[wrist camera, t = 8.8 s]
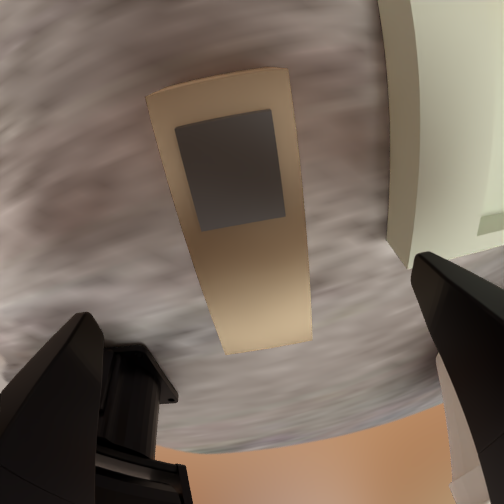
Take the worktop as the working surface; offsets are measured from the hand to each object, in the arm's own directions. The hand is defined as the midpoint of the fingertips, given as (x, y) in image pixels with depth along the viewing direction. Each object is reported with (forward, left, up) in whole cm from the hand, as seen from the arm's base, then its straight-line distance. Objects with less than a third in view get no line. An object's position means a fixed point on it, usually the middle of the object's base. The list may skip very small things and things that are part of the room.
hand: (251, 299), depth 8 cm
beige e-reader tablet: (0, 0, -6) cm, 6 cm away
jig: (+6, -13, -6) cm, 16 cm away
